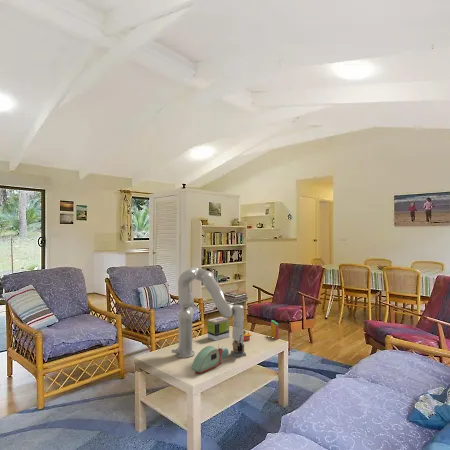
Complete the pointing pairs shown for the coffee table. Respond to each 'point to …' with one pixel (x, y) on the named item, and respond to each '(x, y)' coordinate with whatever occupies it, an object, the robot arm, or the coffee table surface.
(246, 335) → the toy building block set
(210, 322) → the tea box
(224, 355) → the teal block
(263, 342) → the coffee table surface
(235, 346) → the walnut block
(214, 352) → the toy snail
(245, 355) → the base plate
